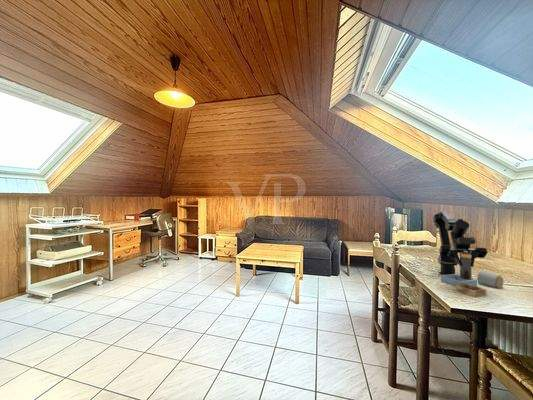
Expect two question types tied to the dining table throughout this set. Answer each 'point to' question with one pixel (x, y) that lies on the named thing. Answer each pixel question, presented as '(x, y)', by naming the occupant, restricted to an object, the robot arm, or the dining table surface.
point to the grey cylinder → (490, 279)
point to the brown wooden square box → (471, 290)
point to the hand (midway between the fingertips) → (466, 265)
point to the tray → (457, 280)
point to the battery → (465, 265)
